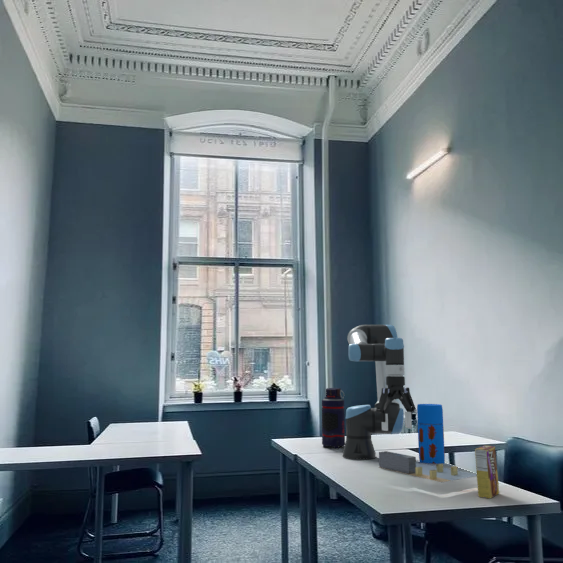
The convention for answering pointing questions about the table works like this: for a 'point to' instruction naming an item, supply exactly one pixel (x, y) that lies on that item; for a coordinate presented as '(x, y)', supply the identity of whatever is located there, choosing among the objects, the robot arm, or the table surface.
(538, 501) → the table surface
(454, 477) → the door board
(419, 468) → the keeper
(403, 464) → the bar
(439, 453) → the red-spotted blue pillar
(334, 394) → the dark blue bottle
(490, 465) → the candy box
